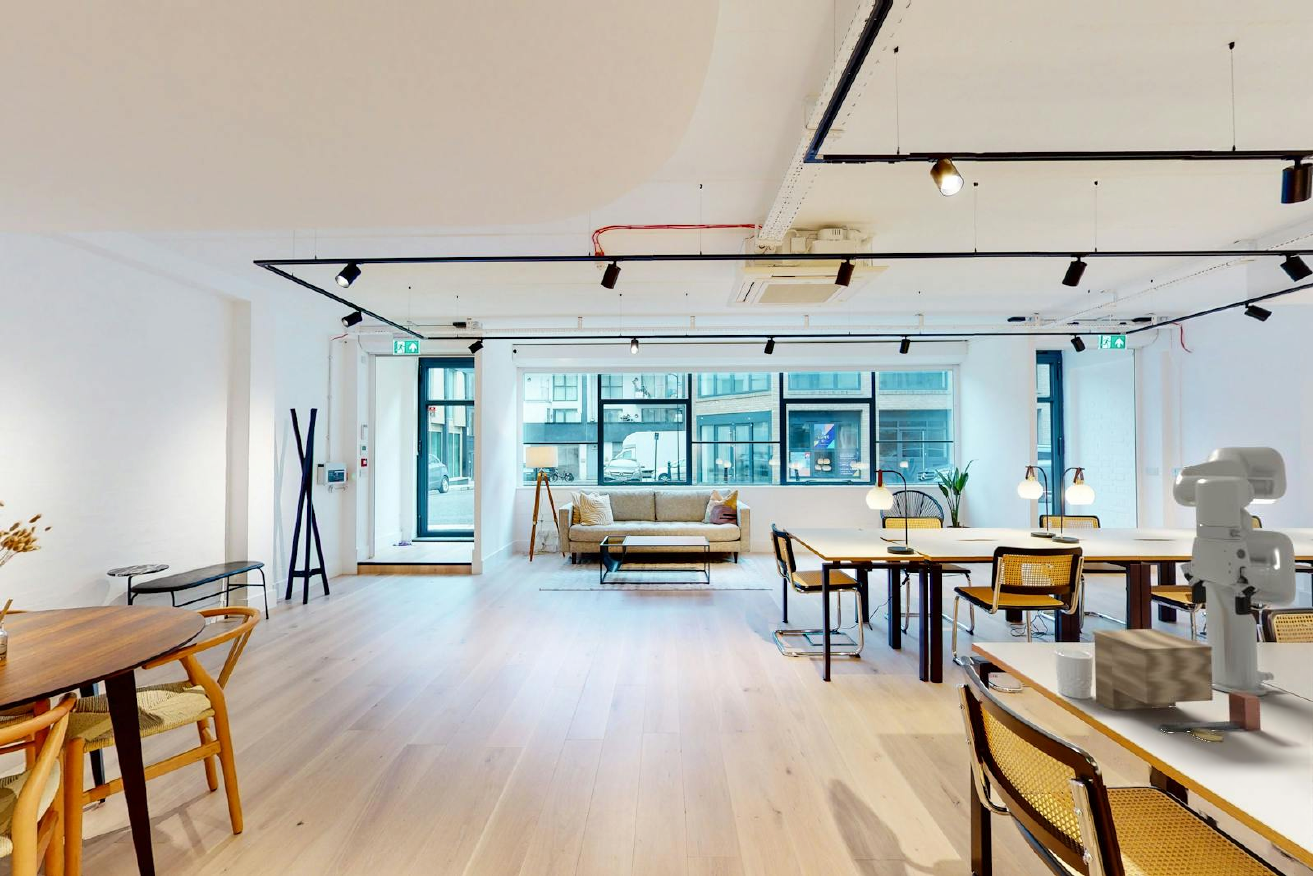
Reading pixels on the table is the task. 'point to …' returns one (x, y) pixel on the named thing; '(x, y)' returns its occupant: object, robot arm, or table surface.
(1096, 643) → the oak bench cabinet
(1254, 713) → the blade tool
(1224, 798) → the table surface
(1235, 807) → the table surface
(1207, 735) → the brass token
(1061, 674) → the white cup
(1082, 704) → the table surface
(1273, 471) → the robot arm
